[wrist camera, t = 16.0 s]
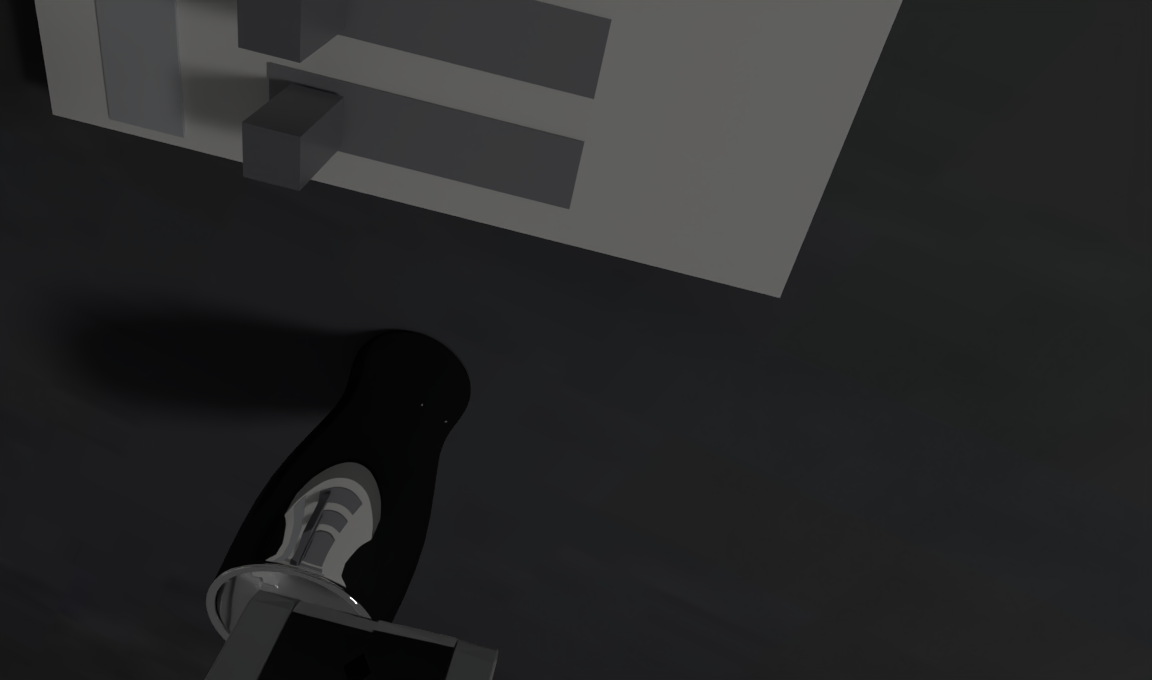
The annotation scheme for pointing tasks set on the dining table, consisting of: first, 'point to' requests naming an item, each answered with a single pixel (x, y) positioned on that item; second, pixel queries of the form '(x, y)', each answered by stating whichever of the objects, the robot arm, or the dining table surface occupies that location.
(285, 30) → the breaker handle
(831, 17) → the breaker panel
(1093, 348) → the dining table surface
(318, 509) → the beer glass
